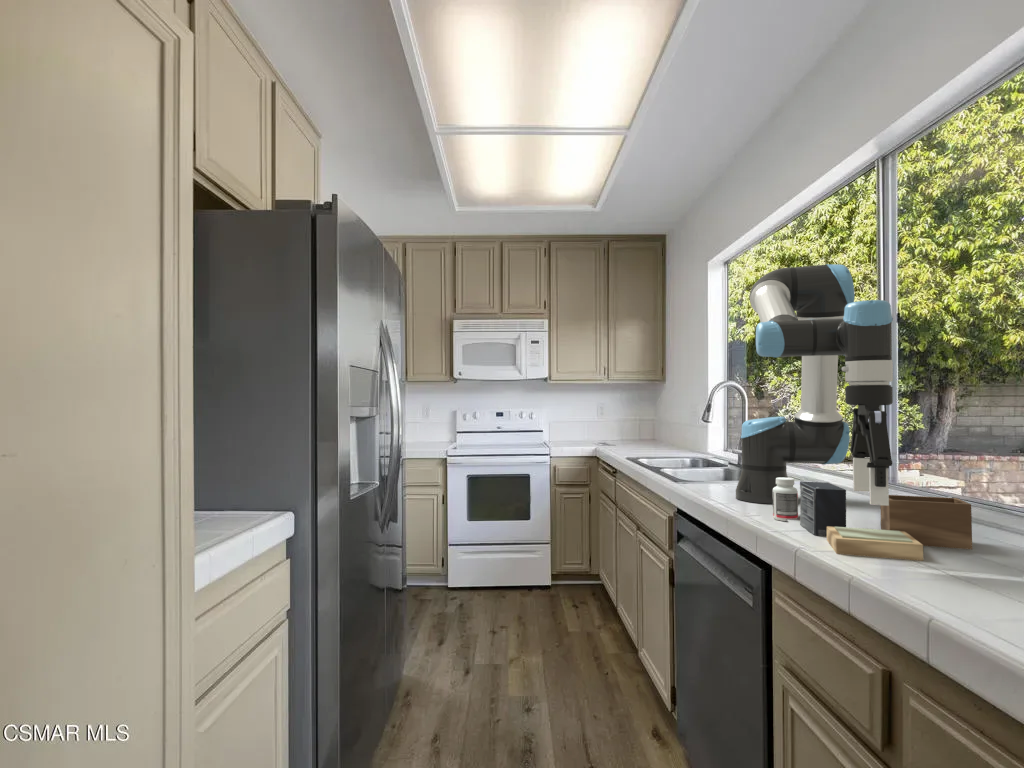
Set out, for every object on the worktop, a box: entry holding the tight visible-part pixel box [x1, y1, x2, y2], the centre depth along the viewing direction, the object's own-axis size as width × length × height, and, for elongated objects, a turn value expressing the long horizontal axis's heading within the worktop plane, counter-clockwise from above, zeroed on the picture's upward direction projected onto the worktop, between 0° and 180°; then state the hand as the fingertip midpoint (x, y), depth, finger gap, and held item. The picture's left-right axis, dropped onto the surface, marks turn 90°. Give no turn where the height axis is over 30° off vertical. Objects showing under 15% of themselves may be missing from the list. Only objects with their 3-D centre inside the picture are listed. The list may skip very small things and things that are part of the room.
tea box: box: [879, 494, 973, 550], centre depth 111 cm, size 7×13×9 cm, turn 69°
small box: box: [799, 480, 847, 537], centre depth 121 cm, size 11×6×10 cm, turn 168°
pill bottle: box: [772, 477, 799, 522], centre depth 135 cm, size 5×5×10 cm
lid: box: [826, 526, 924, 562], centre depth 105 cm, size 10×13×3 cm
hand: (869, 497), depth 106 cm, fingers open, 13 cm apart
